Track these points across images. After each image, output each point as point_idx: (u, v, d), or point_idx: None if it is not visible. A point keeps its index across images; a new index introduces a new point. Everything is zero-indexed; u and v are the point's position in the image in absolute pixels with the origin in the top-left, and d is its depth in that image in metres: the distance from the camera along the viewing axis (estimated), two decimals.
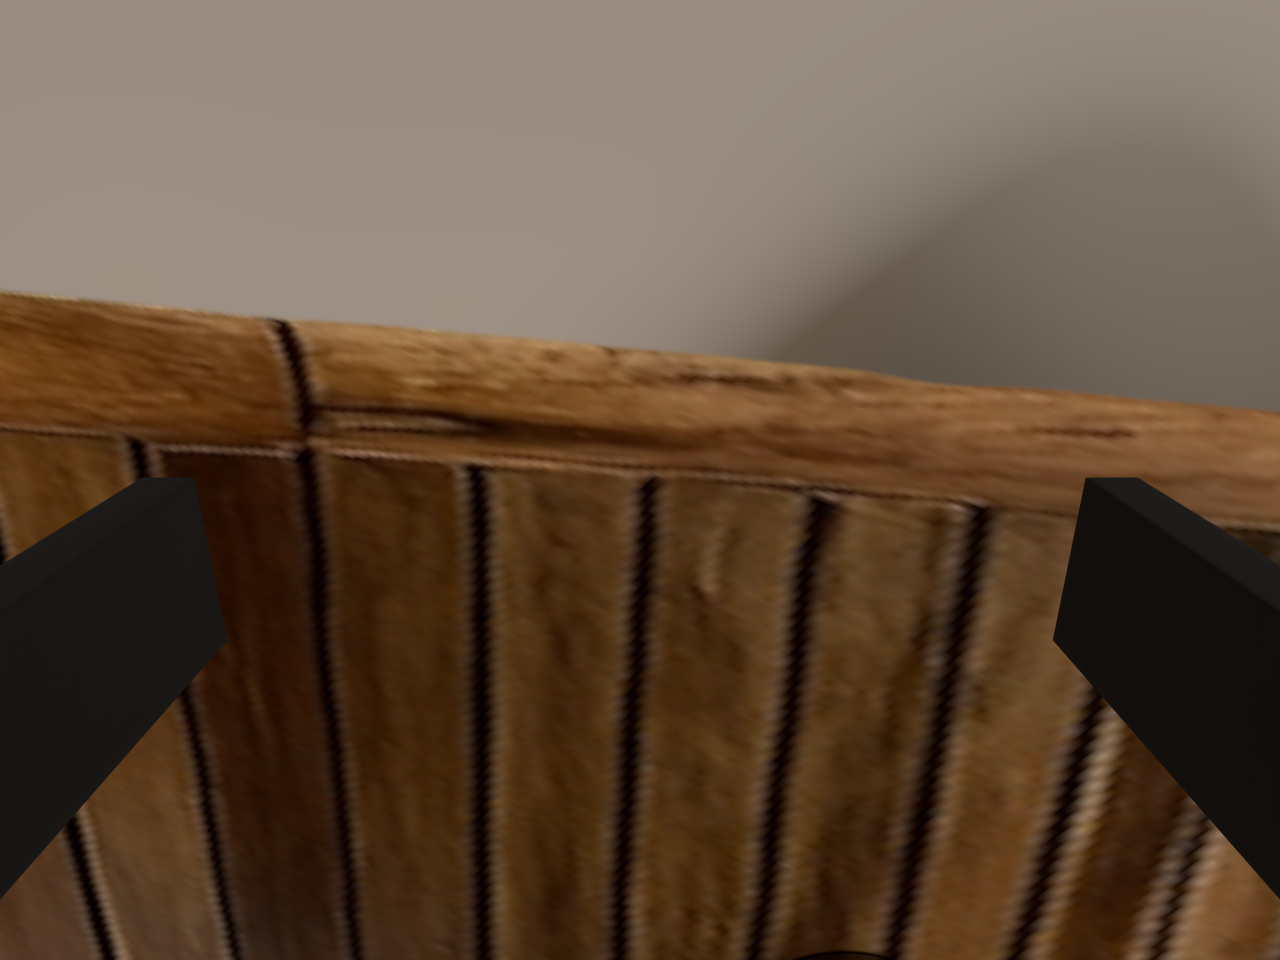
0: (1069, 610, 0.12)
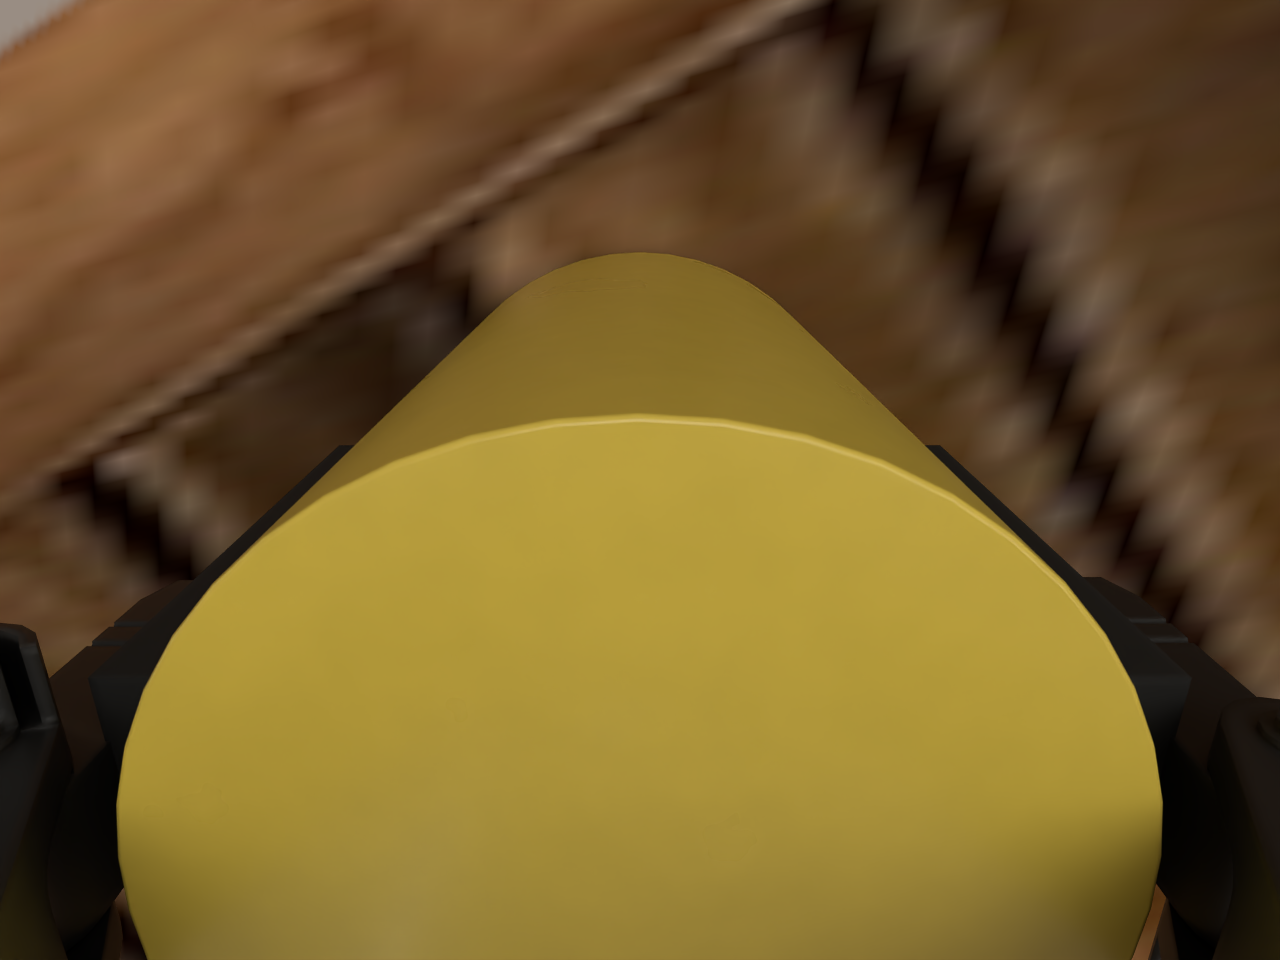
0: None
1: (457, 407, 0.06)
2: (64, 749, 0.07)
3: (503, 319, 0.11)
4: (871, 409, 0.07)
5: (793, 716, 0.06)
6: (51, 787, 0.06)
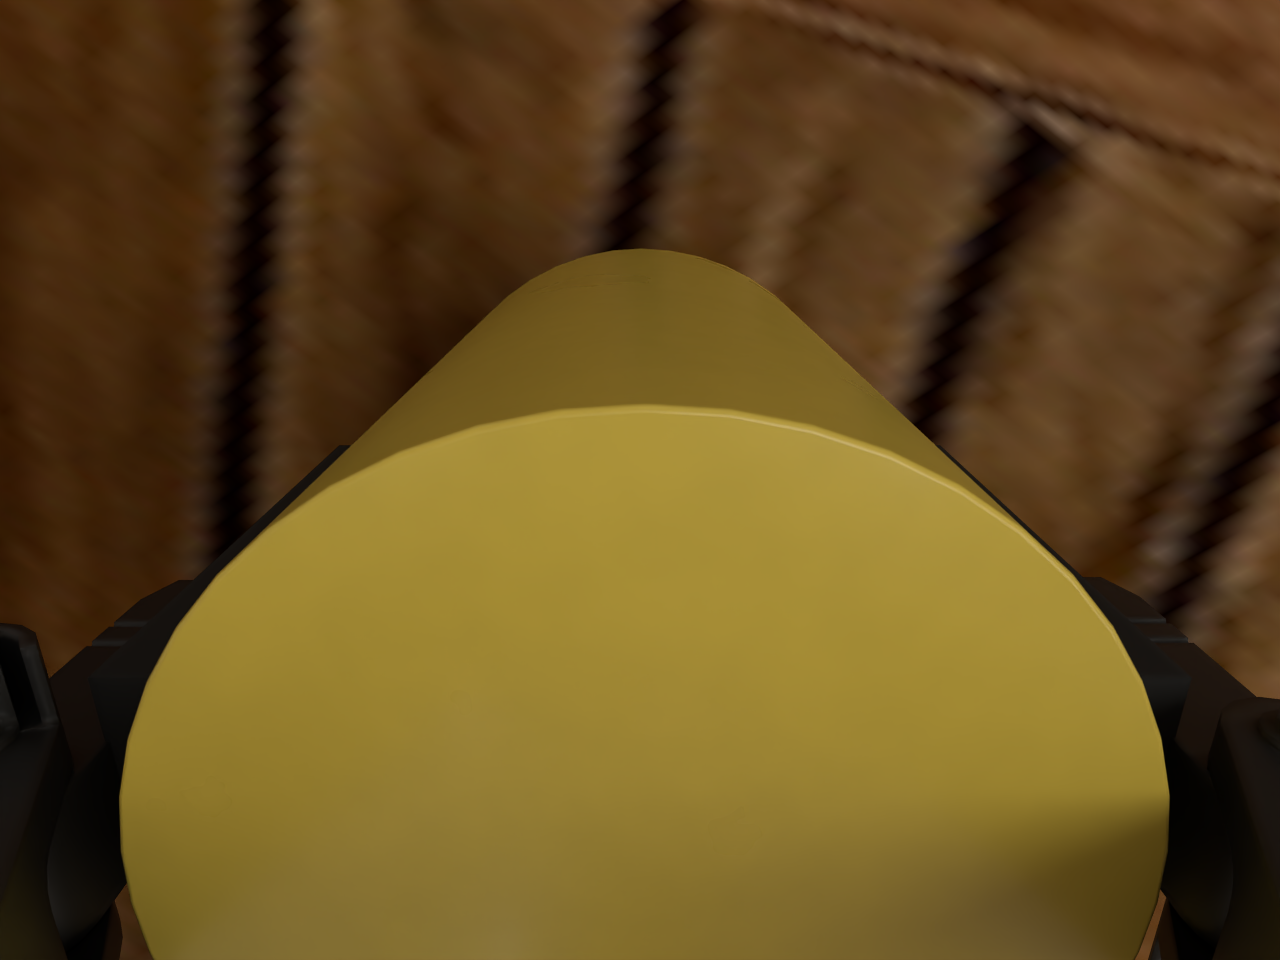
0: None
1: (462, 399, 0.06)
2: (64, 749, 0.07)
3: (506, 314, 0.11)
4: (876, 402, 0.07)
5: (799, 708, 0.06)
6: (51, 787, 0.06)
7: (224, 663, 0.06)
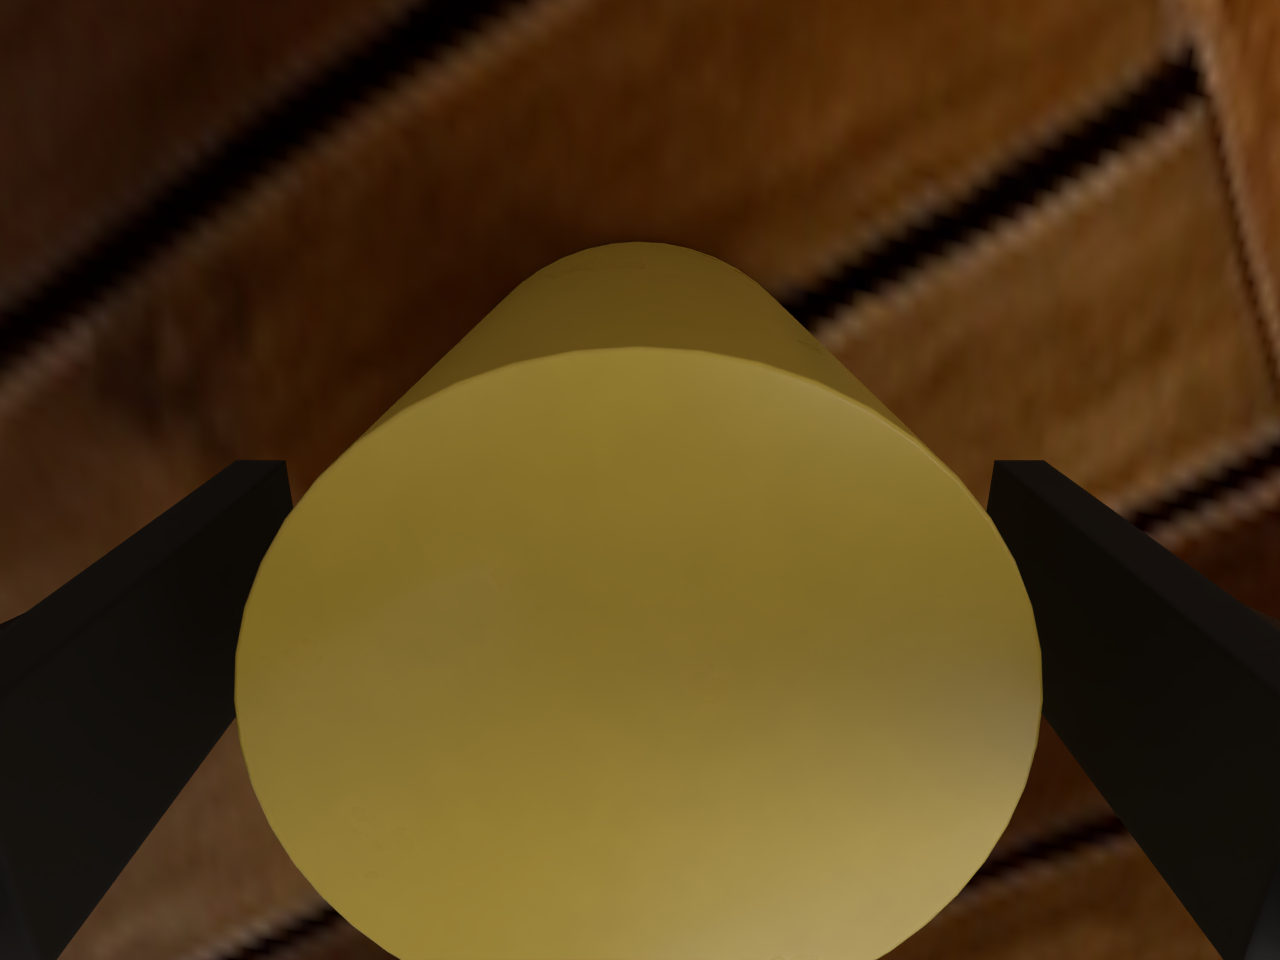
0: None
1: (498, 350, 0.08)
2: None
3: (522, 295, 0.13)
4: (823, 358, 0.09)
5: (755, 583, 0.08)
6: None
7: (321, 546, 0.08)
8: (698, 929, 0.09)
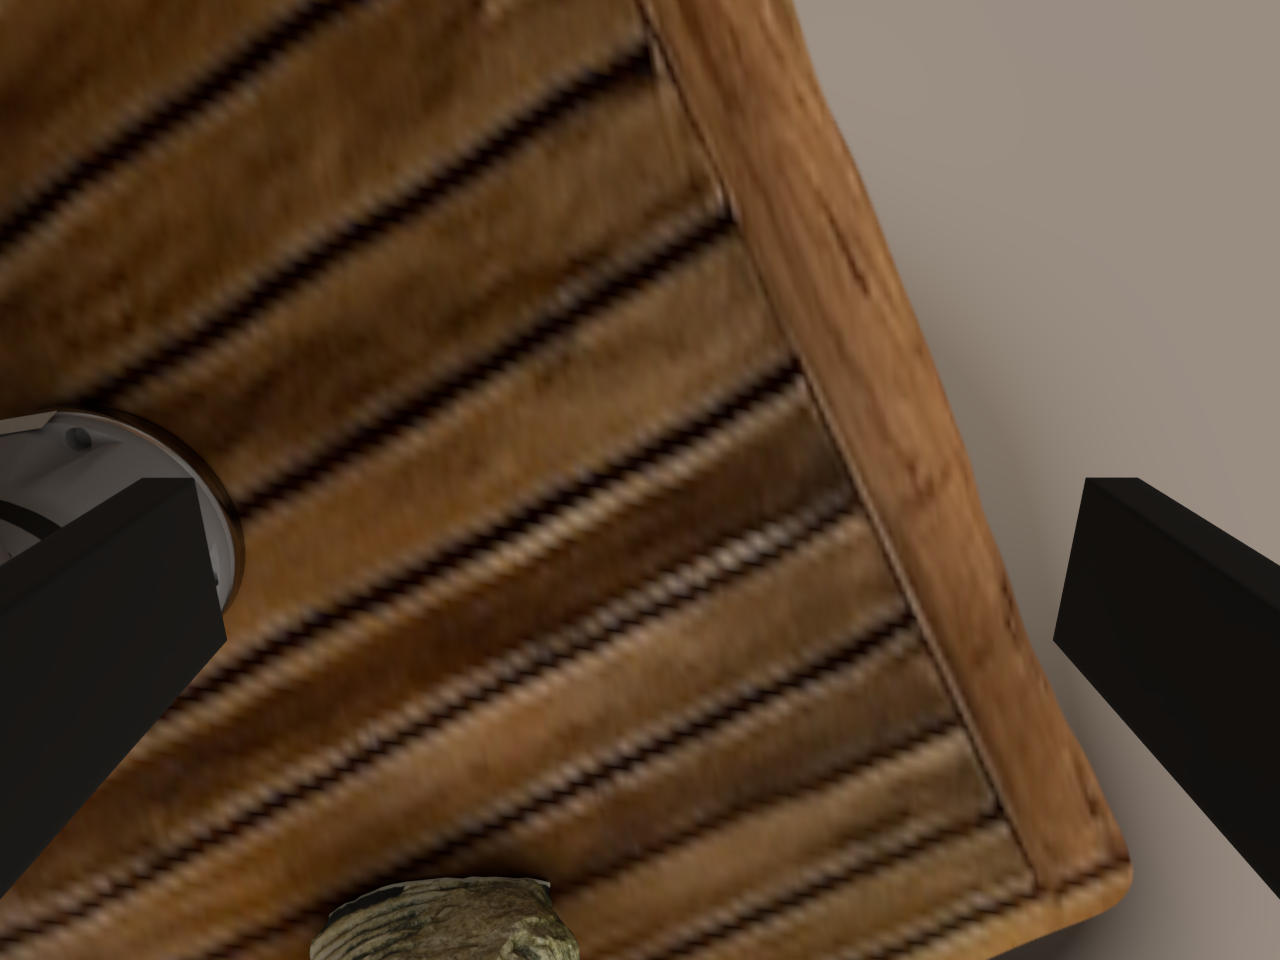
0: (1069, 610, 0.12)
1: None
2: None
3: None
4: None
5: None
6: None
7: None
8: None
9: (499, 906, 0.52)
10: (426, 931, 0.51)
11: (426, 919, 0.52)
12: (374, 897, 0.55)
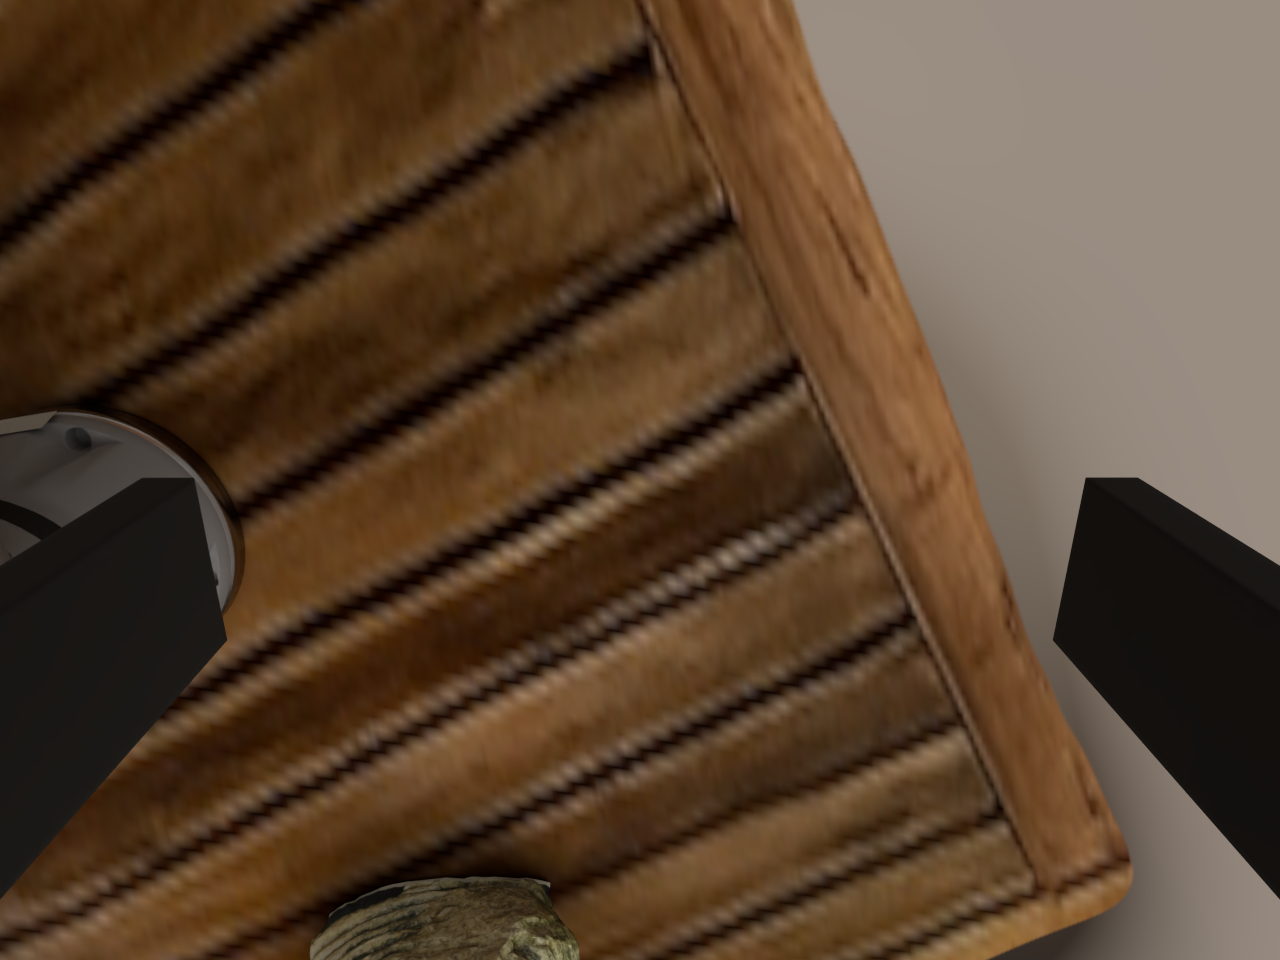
0: (1069, 610, 0.12)
1: None
2: None
3: None
4: None
5: None
6: None
7: None
8: None
9: (499, 906, 0.52)
10: (426, 931, 0.51)
11: (426, 919, 0.52)
12: (374, 897, 0.55)
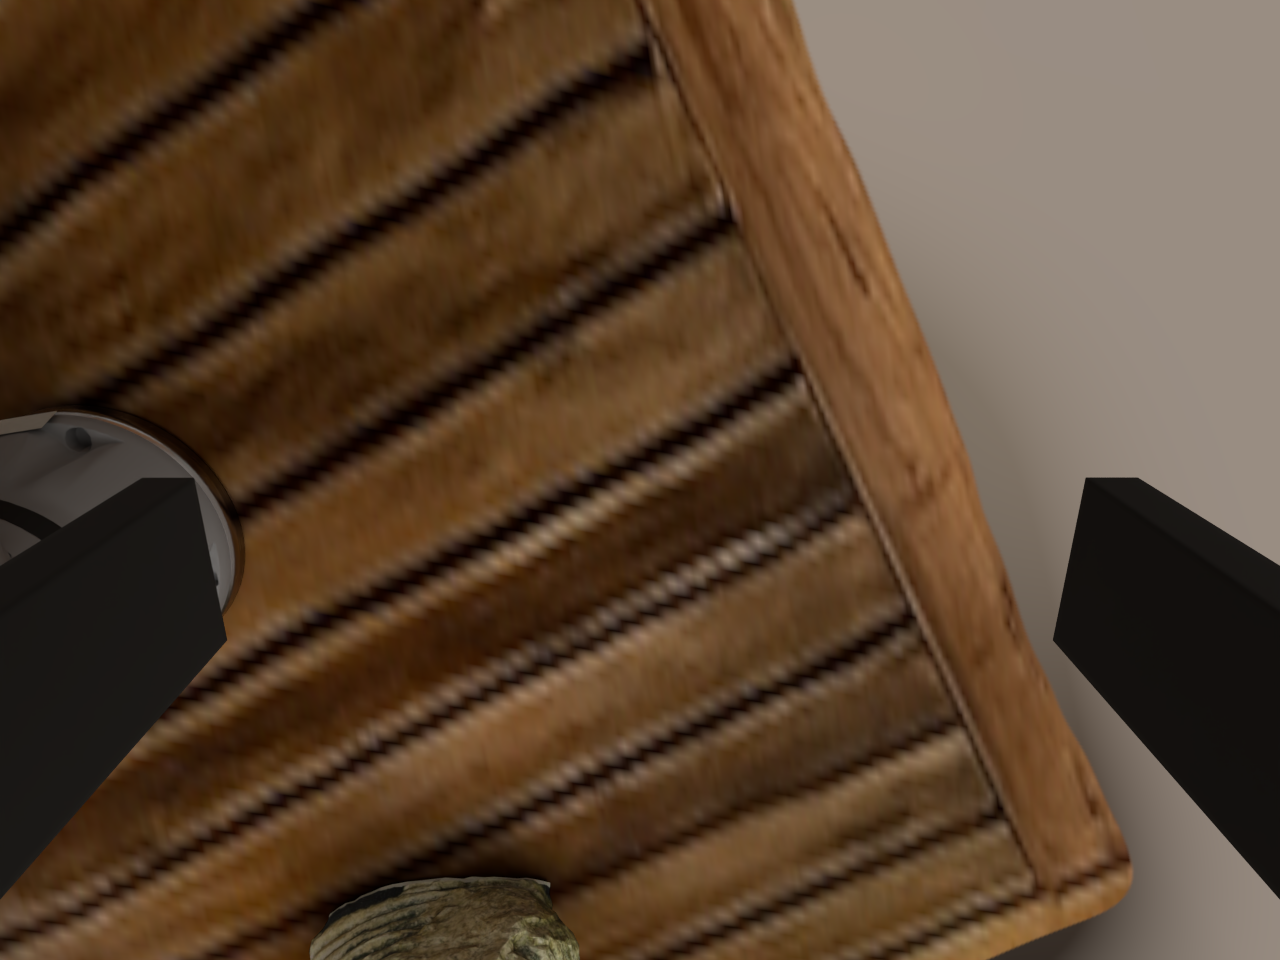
0: (1069, 610, 0.12)
1: None
2: None
3: None
4: None
5: None
6: None
7: None
8: None
9: (499, 906, 0.52)
10: (426, 931, 0.51)
11: (426, 919, 0.52)
12: (374, 897, 0.55)
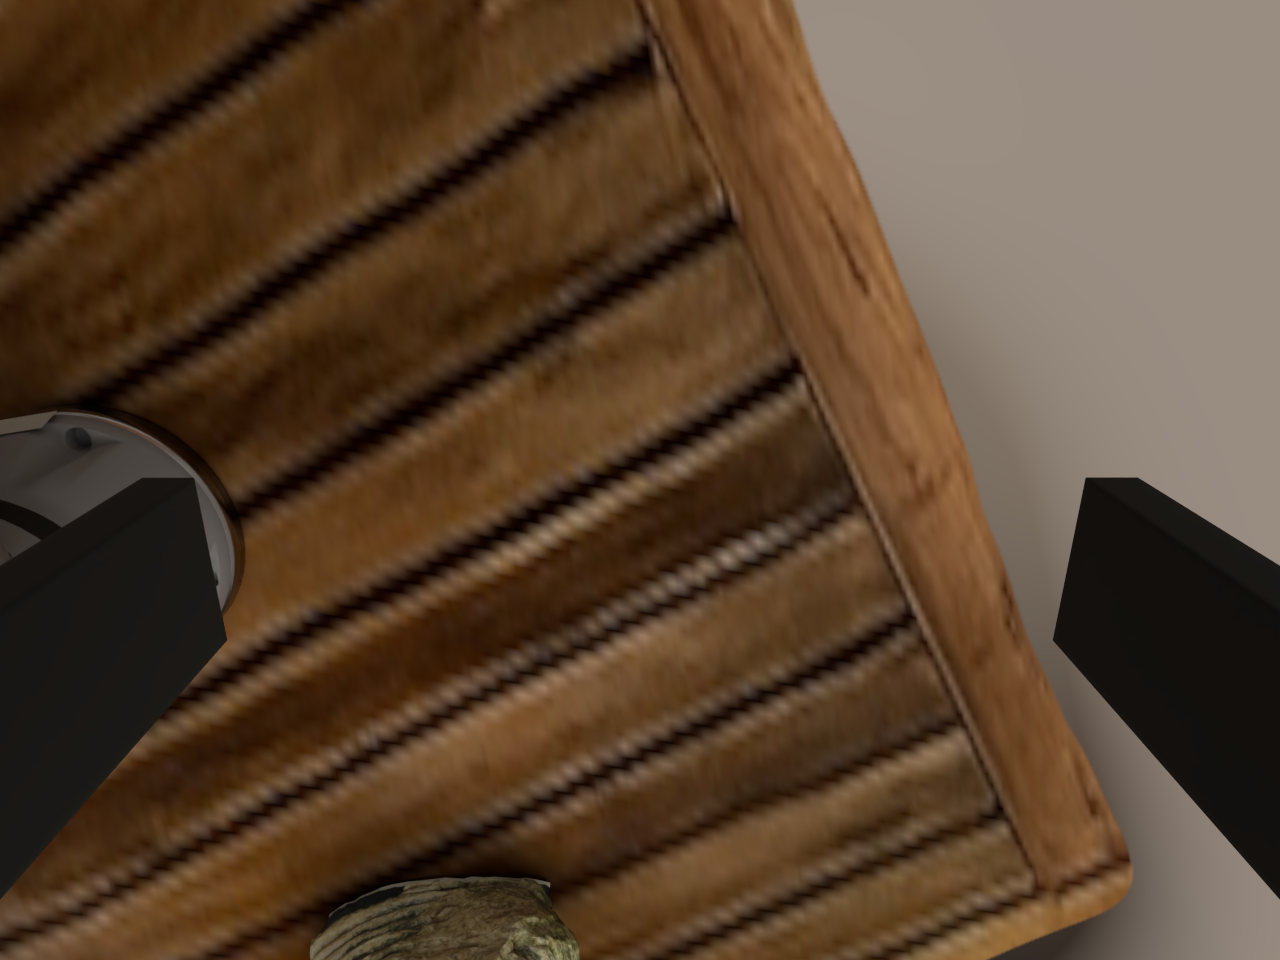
0: (1069, 610, 0.12)
1: None
2: None
3: None
4: None
5: None
6: None
7: None
8: None
9: (499, 906, 0.52)
10: (426, 931, 0.51)
11: (426, 919, 0.52)
12: (374, 897, 0.55)
